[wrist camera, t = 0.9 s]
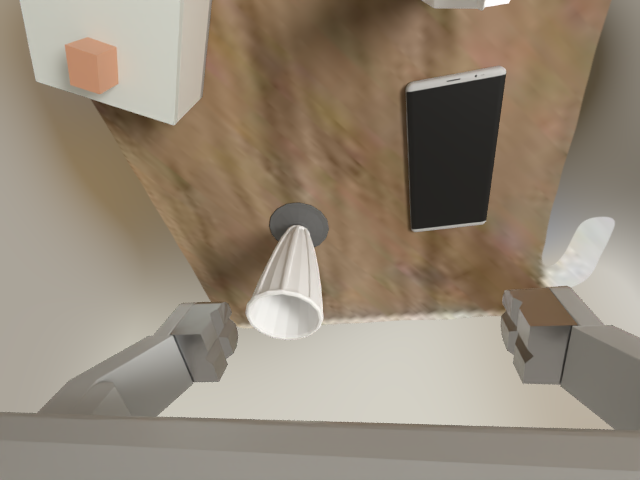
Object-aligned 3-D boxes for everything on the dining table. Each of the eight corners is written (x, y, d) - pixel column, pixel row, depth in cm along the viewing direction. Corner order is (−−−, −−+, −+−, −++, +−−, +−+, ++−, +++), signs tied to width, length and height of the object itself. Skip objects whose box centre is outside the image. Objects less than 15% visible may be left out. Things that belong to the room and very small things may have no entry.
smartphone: (410, 228, 66) (411, 233, 65) (404, 81, 49) (405, 85, 48) (483, 219, 64) (486, 225, 63) (503, 63, 47) (508, 66, 46)
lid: (-12, -198, 28) (-69, -222, 24) (190, -112, 30) (167, -121, 26) (41, 79, 41) (10, 91, 38) (176, 122, 44) (160, 138, 40)
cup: (341, 229, 66) (339, 321, 50) (299, 257, 72) (285, 349, 55) (298, 191, 61) (281, 279, 45) (257, 224, 67) (228, 314, 50)
